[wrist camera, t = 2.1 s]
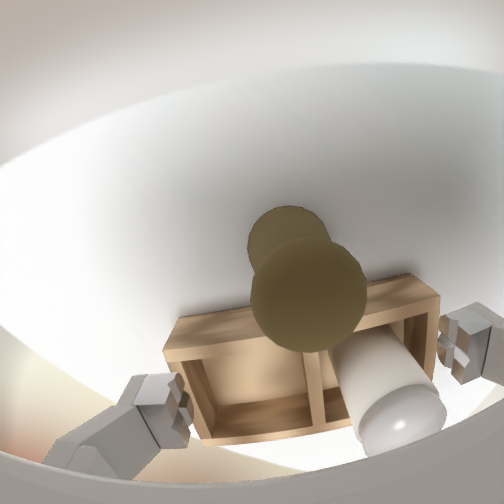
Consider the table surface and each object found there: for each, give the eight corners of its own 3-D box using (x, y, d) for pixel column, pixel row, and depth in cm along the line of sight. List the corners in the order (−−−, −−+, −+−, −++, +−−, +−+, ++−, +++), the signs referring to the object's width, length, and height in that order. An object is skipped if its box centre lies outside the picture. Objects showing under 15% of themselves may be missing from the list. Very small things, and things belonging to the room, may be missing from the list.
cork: (245, 206, 22) (234, 238, 11) (330, 205, 22) (393, 235, 11) (248, 287, 23) (242, 376, 13) (328, 285, 23) (376, 367, 12)
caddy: (409, 272, 23) (440, 295, 18) (407, 369, 25) (428, 401, 20) (178, 317, 24) (162, 350, 19) (211, 408, 26) (204, 446, 22)
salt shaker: (391, 307, 23) (457, 383, 12) (390, 362, 24) (440, 445, 14) (324, 322, 23) (362, 416, 13) (330, 378, 24) (359, 472, 14)
